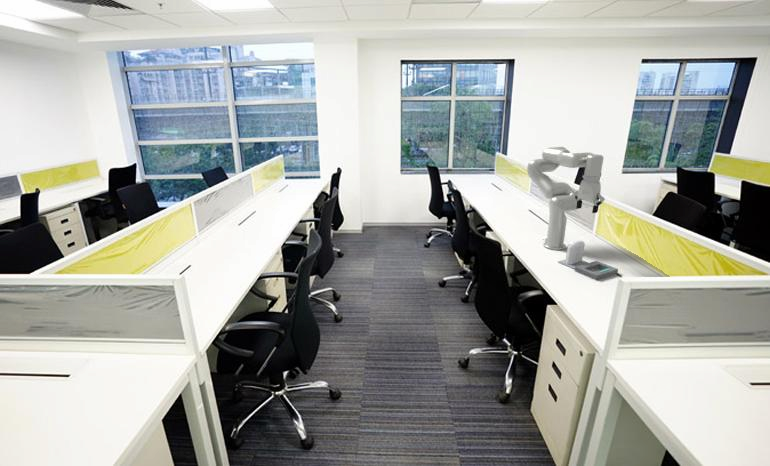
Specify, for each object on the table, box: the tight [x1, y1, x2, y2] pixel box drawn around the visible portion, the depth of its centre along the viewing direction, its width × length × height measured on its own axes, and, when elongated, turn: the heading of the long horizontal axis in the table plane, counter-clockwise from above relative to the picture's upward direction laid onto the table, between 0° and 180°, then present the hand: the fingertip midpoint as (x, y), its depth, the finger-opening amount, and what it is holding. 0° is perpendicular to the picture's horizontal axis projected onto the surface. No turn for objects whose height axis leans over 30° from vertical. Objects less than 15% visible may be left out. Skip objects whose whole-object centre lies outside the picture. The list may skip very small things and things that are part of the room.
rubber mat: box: [557, 259, 589, 270], centre depth 197 cm, size 10×13×1 cm
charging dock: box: [574, 260, 619, 281], centre depth 186 cm, size 12×16×3 cm
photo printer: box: [565, 239, 586, 264], centre depth 196 cm, size 10×4×12 cm, turn 118°
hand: (586, 210), depth 194 cm, fingers open, 9 cm apart
